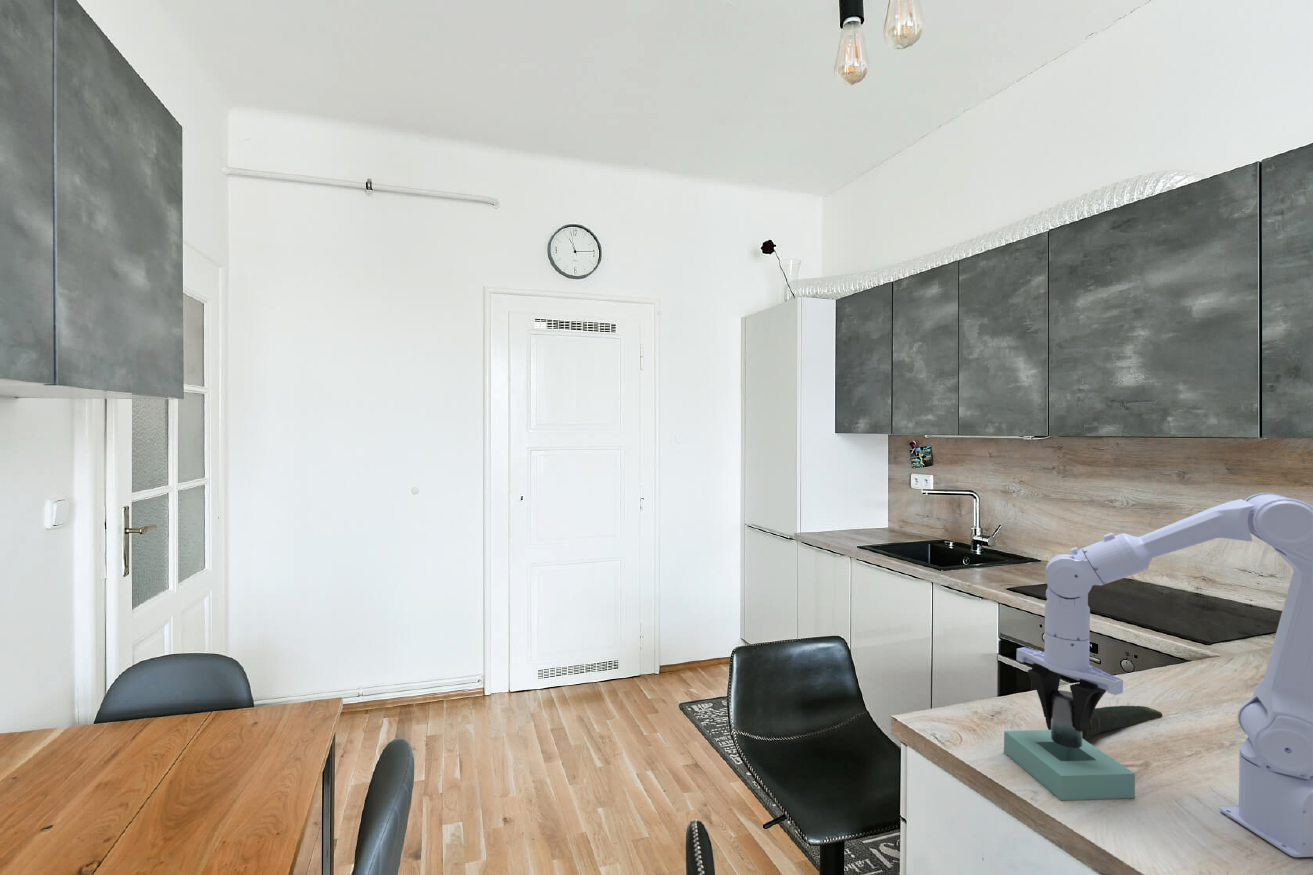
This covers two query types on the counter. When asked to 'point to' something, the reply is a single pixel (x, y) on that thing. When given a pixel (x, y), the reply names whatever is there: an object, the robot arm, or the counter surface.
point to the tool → (1115, 718)
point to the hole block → (1069, 767)
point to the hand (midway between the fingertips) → (1065, 722)
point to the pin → (1064, 720)
